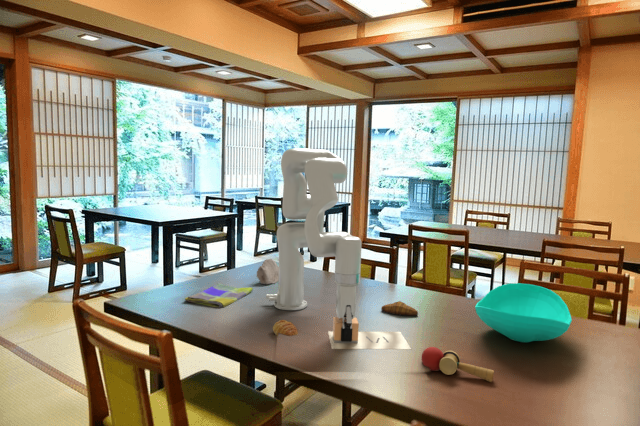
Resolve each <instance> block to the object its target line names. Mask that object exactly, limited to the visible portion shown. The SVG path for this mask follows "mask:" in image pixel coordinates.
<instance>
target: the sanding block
mask: <svg viewBox="0 0 640 426" xmlns="http://www.w3.org/2000/svg"><path fill="white" fill-rule="evenodd" d="M332 318H333V319H332V321H333V322H332V331H333V340H334V343H358V332H359V321H358V318H357V317H355V318H354V319H352V341H351V342H342V341H341V328H342V318H341V319H339V318H338V316H336V317H335V316H333V317H332ZM344 318H346V317H344ZM345 322H346V320H344V323H345Z"/></svg>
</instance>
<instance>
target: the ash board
mask: <svg viewBox="0 0 640 426" xmlns="http://www.w3.org/2000/svg"><path fill="white" fill-rule="evenodd" d="M327 334H328V338H329V343H330V348H331V350H412V348H411V346H410V344H409V343H408V341H407V340H406V338H405V337H404V335H403V334H402V332H401V331H358V343H334V340H333V330H332V331H330V330H328V331H327Z"/></svg>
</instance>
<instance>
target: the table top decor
mask: <svg viewBox="0 0 640 426" xmlns="http://www.w3.org/2000/svg"><path fill="white" fill-rule="evenodd" d="M474 308H475V313H476V315H477V316H478V317H479V319H480V320H481V321H482V322H483V323H484V324H485V325H487V326H488V327H490V328H491V329H493V330H494V331H496V332H497V333H499V334H501V335H503V336H505V337H506V338H508V339H510V340H512V341H515V342H520V343H531V342H540V341H541V342H543V341H549V340H555V339H556V338H558V337H560V336H563V335H564V334H565V333H566V332H567V331H568V330H569V328H570V327H571V323H572V321H573V320H572V315H571V312H570V310H569V307H568V305H567V304H566V303H565V301H564V300H563V299H562V297H561V296H560V295H559V294H557V293H556V292H555V291H553V290H552V289H548V288H546V287H543V286H540V285H535V284H530V283H519V282H516V283H505V284H502V285H499V286H497V287H495V288H493V289H491V290H489V291H488V293H487V294H485V296H483V298H481V299H480V300H478V301H477V303H476V305H475V306H474Z"/></svg>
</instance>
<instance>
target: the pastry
mask: <svg viewBox="0 0 640 426" xmlns="http://www.w3.org/2000/svg"><path fill="white" fill-rule="evenodd" d="M272 331H273V334H275V336H277V337H279V334H281V335H286V336H291V337H292V336H298V334H299V333H298V329H297V326H296V325H295V324H293V322H291V321H287V320H286V319H280V320H278V321H276V322H275V323H274V325H273V326H272Z"/></svg>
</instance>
